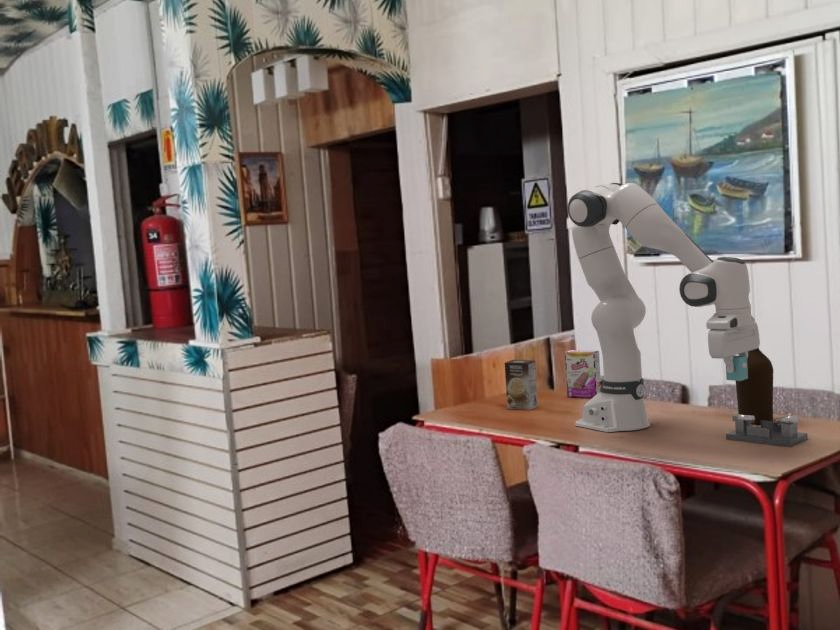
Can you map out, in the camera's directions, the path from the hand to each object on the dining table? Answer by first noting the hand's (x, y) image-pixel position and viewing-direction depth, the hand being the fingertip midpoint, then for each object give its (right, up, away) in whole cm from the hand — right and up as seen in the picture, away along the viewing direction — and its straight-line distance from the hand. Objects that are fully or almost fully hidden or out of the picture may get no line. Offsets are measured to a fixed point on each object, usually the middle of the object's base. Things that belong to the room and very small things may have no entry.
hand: (736, 370), depth 249 cm
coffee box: (-49, -17, +71) cm, 88 cm away
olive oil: (+14, -17, +25) cm, 33 cm away
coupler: (0, -2, 0) cm, 2 cm away
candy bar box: (-26, -14, +82) cm, 87 cm away
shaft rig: (+9, -19, +4) cm, 21 cm away
